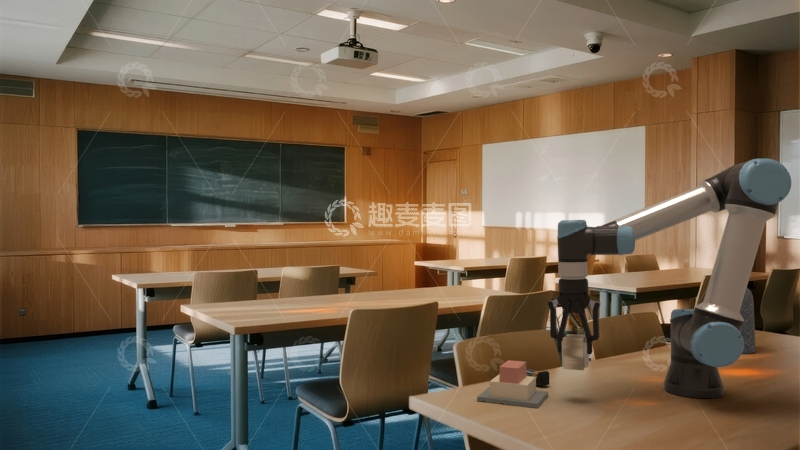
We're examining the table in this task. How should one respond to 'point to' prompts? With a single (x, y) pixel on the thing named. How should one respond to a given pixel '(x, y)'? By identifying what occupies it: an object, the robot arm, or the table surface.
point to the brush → (539, 376)
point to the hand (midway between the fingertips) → (575, 365)
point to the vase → (748, 323)
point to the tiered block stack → (513, 387)
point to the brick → (573, 352)
